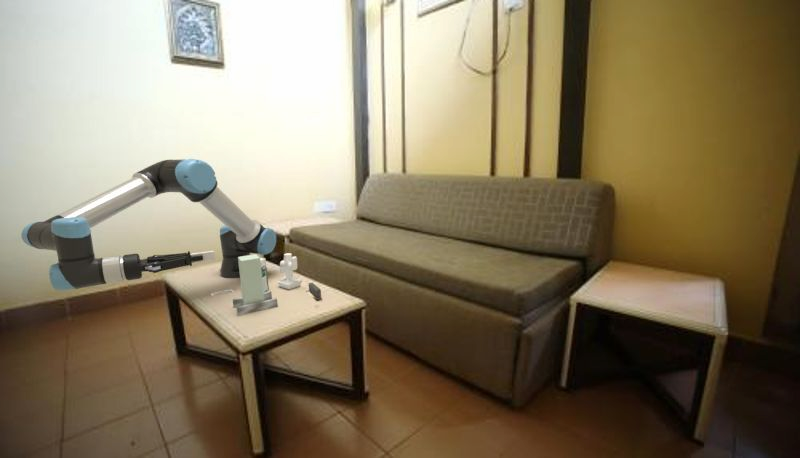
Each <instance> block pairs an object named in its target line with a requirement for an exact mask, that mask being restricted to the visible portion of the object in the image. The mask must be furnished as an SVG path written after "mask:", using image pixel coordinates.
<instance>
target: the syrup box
mask: <svg viewBox="0 0 800 458" xmlns="http://www.w3.org/2000/svg"><path fill="white" fill-rule="evenodd" d="M259 258H260V263H261V273H262V284H263V293H265V292H269V291H270V287H269V286H270V285H269V279H268V271H267V269H268V267H267V260H266V257H259Z"/></svg>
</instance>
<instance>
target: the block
mask: <svg viewBox="0 0 800 458" xmlns="http://www.w3.org/2000/svg"><path fill="white" fill-rule="evenodd" d="M260 258H261V257H260V256H258V254H255V253H253V254H250V255H247V256H241V257H238V262H239V272H240V277H239V279H240V289H241V297H242V299H243V305H247V304H252V303H256V302H261V301H264V294H263V284H262V273H261V263H260Z"/></svg>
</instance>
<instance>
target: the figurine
mask: <svg viewBox="0 0 800 458" xmlns="http://www.w3.org/2000/svg"><path fill="white" fill-rule="evenodd" d="M279 269H280V270H279V271H280V273H281V274H285V278H283V279H280V280H277V281H276V282H277V284H278V285H279V287H280V288H283V289H285V290H288V291H289V290H293V289H294V288H295V289H296V288H297V287H300V286H301V284H302V283H303V281H304V280H303V279H301V278H298V277H294V271H296V270H297V269H298V258H297V256H293V254H292V253H290V252H289V253H284V254H283V260H281V261H280V262H279Z"/></svg>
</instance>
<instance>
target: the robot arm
mask: <svg viewBox="0 0 800 458" xmlns="http://www.w3.org/2000/svg"><path fill="white" fill-rule="evenodd" d="M215 175H216V172H215V170H214V169H213V166H211V165H210V164H209V163H208V162H206V161H204V160H200V159H195V158H187V159H184V158H183V159H164V160H161V161H158V162H156V163H153V164H151V165H149V166H147V167H145V168H143V169H141V170H139V171H137V172H135V173H133V174H132V176H131V178H130V179H128V180H126V181H123V182H122V183H120V184H118V185H116V186H113V187H112V188H110V189H108V190H105V191H103V192H101V193H100V194H98V195H95V196H94V197H91V198H89V199H88V200H85V201H83V202H81V203H79V204H77V205H75V206H72V207H71V208H69V209H67V210H65V211H63V212H61V213H59V214H57V215H54V216H52V217H49V218H48V219H46V220H44V221H36V222H30V223H29V224H27V225H25V226H24V228H22V231H21V234H20V235H21V239H22V241H23V243H24V244H26V245H27V246H29V247H32V248H35V249H38V250H47V251H53V252H54V251H55V252H56V255H57V261H58V262H57V263H53V264H52V265H50V266H49V271H48V272H49V273H48V274H49V281H50V285H51V286H52V288H53V289H54V290H56V291H60V292H61V291H67V290H79V289H83V288H89V287H96V286H100V285H107V284H112V285H116V284H117V283H120V282H124V281H125V280H126V281H133V280H139V279H142V277H143V272H149V273H153V274H156V273H160V272H163V271H168V270H172V269H173V270H174V269H177V268H183V267H188V266H190V267H192V266H193V264H196V263H203V262H209V261H215V260H216V258H215V251H214V250H210V251H200V252H192V253H191V251H189V250H188V251H187V252H182V253H181V252H179V253H171V254H170V253H169V254H153V255H151V256H147V257H146V258H143V259H141V258H140V254H139V253H129V254H124V255H123V256H121V255H114V256H113V255H112V256H106V257H105V256H104V257H99V258H96V255H95V252H94V244H93V238H92V231H91V228H93V227H96V226H97V225H99V224H100V223H103V222H105V221H106V220H108V219H110V218H112V217H113V216H116V215H118V214H119V213H120V212H123V211H125V210H127V209H128V208H130V207H132V206H134V205H136V204H138V203H139V202H141V201H143V200H145V199H147V198H150V199H152V198H155V197H156V196H159V195H161V194H166V193H180V194H182V195H183V196H185V198H187V199H188V200H189V201H191V202H192V203H199V204H200V205H201V206H203V207H204V208H205V209H206V210H207V211H208V212H210V213H211V214H212V215H213V216H214V217H215V218H216V219H218V220H219V221H220V222H221V223H223V224H224V225H223V226H221V227H220V228H219V239H220V246H221V253H222V262H221V265H220V270H219V272H220V273H219V274H220V277H223V278H230V279H231V278H232V279H233V278H240V272H239V262H238V257H241V256H247V255H251V254H257V255H268V254H270V253H272V251H274V249H275V247H276V244H277V233H276V231H275V230H274V229H272V228H270V227H264V226H263V225H262V224H261V223H260V222H259V221H258V220H255V219H253V220H252V219H251V218H250V217H249V216H248V215H247V214H246V213H245V212H244V211H243V210H241V208H240V207H238V205H236V204H235V202H234V201H232V199H230V197H228V196H227V194H225V193H224V191H222V189H220V187H218V184H219V182H218V180H217V177H216V176H215Z"/></svg>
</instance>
